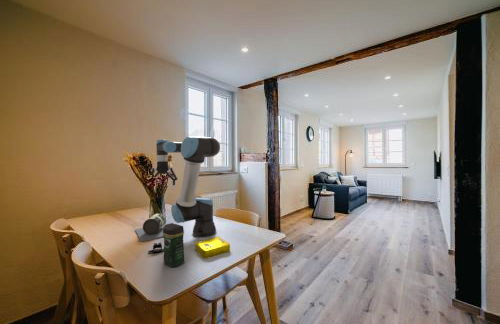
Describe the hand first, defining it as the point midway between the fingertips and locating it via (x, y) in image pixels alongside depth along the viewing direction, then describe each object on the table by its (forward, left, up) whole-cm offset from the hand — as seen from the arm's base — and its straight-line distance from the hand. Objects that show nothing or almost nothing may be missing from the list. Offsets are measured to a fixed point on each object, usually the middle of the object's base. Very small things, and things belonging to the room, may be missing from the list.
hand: (163, 190), depth 161 cm
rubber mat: (-10, +8, -27) cm, 30 cm away
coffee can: (-3, +5, -21) cm, 21 cm away
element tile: (-59, -12, -27) cm, 66 cm away
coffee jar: (-62, +9, -27) cm, 68 cm away
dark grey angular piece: (-43, +13, -27) cm, 53 cm away
